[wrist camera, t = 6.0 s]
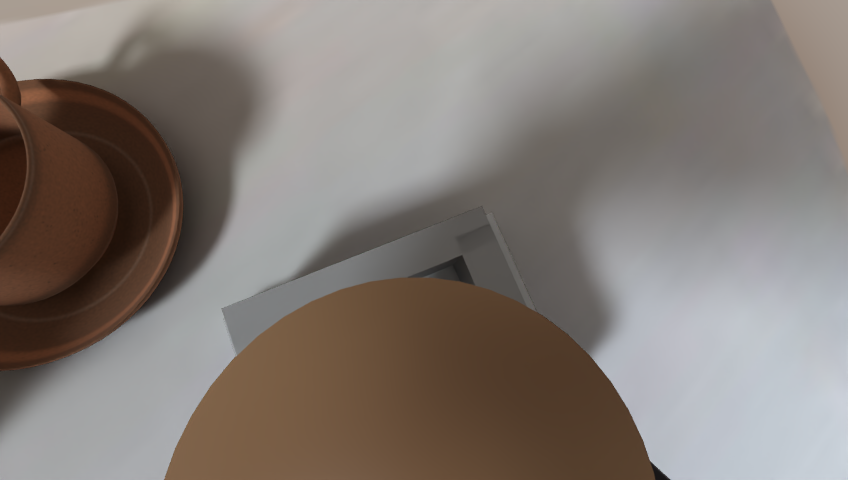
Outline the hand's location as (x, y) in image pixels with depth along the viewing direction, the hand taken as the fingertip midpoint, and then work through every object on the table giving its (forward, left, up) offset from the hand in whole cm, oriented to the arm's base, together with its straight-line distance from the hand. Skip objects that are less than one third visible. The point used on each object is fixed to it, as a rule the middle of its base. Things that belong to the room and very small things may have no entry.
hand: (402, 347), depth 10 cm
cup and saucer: (+10, +12, -9) cm, 18 cm away
